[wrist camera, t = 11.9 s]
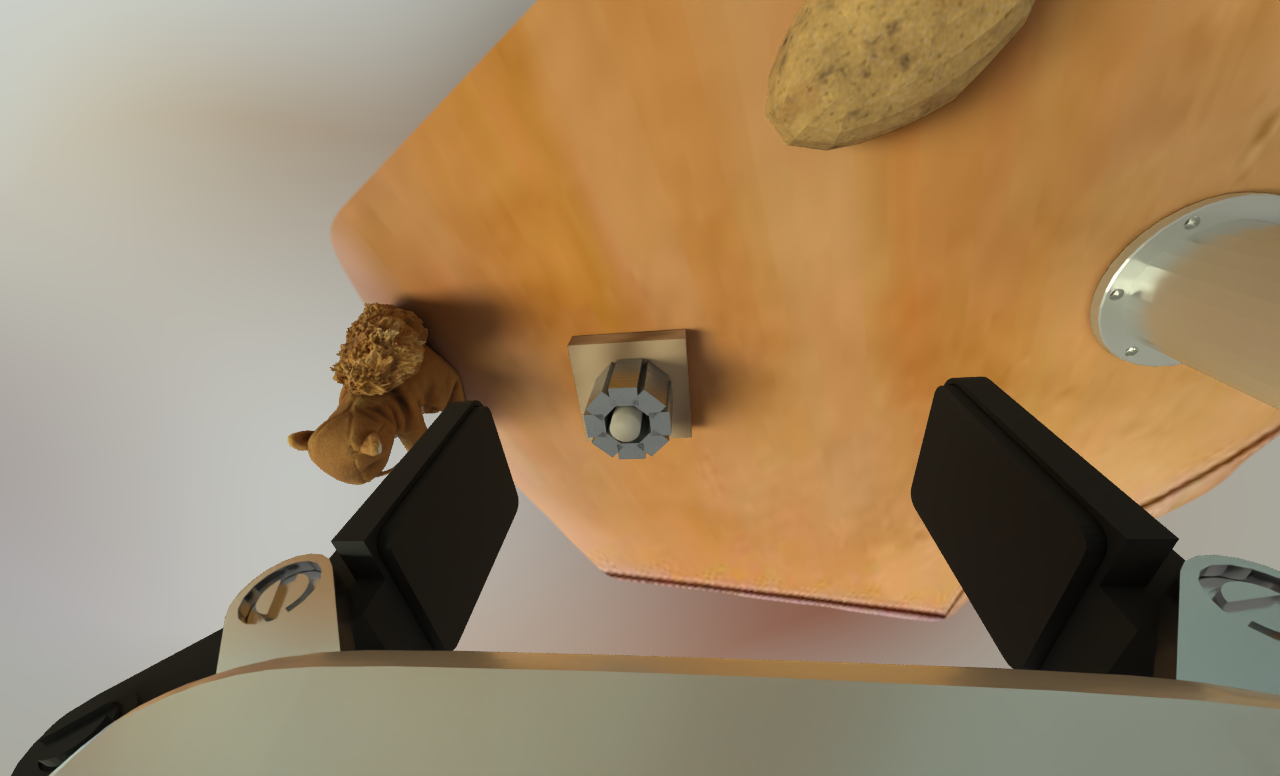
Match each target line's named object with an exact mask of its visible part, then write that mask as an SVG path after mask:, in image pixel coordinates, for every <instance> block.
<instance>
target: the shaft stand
mask: <svg viewBox="0 0 1280 776" xmlns="http://www.w3.org/2000/svg"><path fill="white" fill-rule="evenodd" d="M567 347H568V352H569V356H570V361H571V366H572V371H573V376H574V381H575V386H576V391H577V395H578V400H579V405H580V410H581V415H582V420H583V425H584V430H585V435H586V439H587V441H592V440H593V437H592V438H588V436H587V431H586V425H585V420H584V412H585V408H586V405H587V403H588V400H589V397H590V394H591V392H592V389H593V386H594V383H595V381H596V378H597V377H598V376H599V375H600V374H601V373H602V372H603V371H604V369H605V368H606V367H607V366H608V365H609V364H610V363H611V362H612V363H613V364H616V361H617V359H633V358H643V366H644V365H645V364H646V362H647V361H648V360H650V361H651V362H652V363H653V364H655V365H656V366H657V367H659V368H660V369H661V370H662V371H664V372H665V373H666V374H668V381H670V380H671V381H672V394H673V414H672V433H671V435H669V438H689V437H692V424H691V408H690V392H689V376H688V360H687V344H686V329H678V330H663V331H648V332H632V333H617V334H601V335H586V336H572V338H571V340H570V342H569V344H568V345H567ZM642 415H643V412H642V411H641V410H640V409H638V408H637V407H636V406H615V408H614V412H613V416H612V420H611V424H610V432H611V434H612V436H613V437H614V438H616V439H617V440H619V441H623V442H629V441H633V440H635V439H636V438H637V437H638V436H639V434H640V428H641V422H642Z"/></svg>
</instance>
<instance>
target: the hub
mask: <svg viewBox="0 0 1280 776" xmlns="http://www.w3.org/2000/svg"><path fill="white" fill-rule="evenodd" d="M615 406H636V407H637V408H638V409H640V410H641V411H642V412H643V415H642V422H641V428H640V434H639V436H638V437H637V438H636V439H635V440H633V441H629V442H623V441H619V440H617V439H616V438H614V437H613V436H612V434H611V432H610V424H611V420H612V416H613V412H614V408H615ZM672 414H673V394H672V381H671V380H670V381H668V374H666V373H665V372H664V371H662V370H661V369H660V368H659V367H657V366H656V365H655V364H653V363H652V362H651V361H650V360H648V361H647V362H646V364H645V365H644V366H643V358H633V359H617V361H616V364H613V363H612V362H611V363H610V364H609V365H608V366H607V367H606V368H605V369H604V371H603V372H602V373H601V374H600V375H599V376H598V377H597V378H596V381H595V383H594V386H593V389H592V392H591V394H590V397H589V400H588V403H587V405H586V408H585V412H584V420H585V425H586V431H587V436H588V438H592V437H593V440H592V443H593V444H594V445H595V446H597V447H598V448H600V449H601V450H603V451H604V452H606V453H607V454H609V455H610V456H611V457H614V456H615V455H616V454H617V453H618V455H619V459H645V458H646V453H647V454H649V455H650V456H653V455H654V454H655V453H656V452H657V451H658V450H659V449H660V448H661V447H663V446H664V445H665V444H666V443H667V442H668V441H669V435H671V433H672Z"/></svg>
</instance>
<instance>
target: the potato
mask: <svg viewBox="0 0 1280 776" xmlns="http://www.w3.org/2000/svg"><path fill="white" fill-rule="evenodd" d="M1034 2H1035V0H805V1H804V2H803V4H802V6H801V8H800V10H799V11H798V13H797V15H796V17H795V19H794V21H793V23H792V24H791V26H790V28H789V30H788V32H787V34H786V35H785V37H784V39H783V41H782V43H781V46H780V49H779V51H778V54H777V56H776V59H775V62H774V64H773V67H772V69H771V72H770V75H769V80H768V92H767V104H766V117H767V118H768V119H769V121H770V122H771V123H772V125H773V126H774V127H775V129H776V130H777V132H778V133H779V134H780V136H781V137H782V138H783V140H784V141H785V143H786V144H787V145H790V146H797V147H805V148H812V149H819V150H831V149H836V148H841V147H845V146H850V145H855V144H859V143H862V142H865V141H867V140H870V139H873V138H875V137H878V136H881V135H883V134H886V133H889V132H891V131H894V130H896V129H899V128H901V127H903V126H905V125H908V124H910V123H912V122H914V121H917V120H919V119H921V118H923V117H925V116H927V115H928V114H930V113H932V112H934V111H935V110H937V109H939V108H941V107H942V106H944V105H946V104H948V103H949V102H951V101H953V100H954V99H955V98H956V97H957V96H958V95H959V94H960V93H961V92H962V91H963V90H964V89H965V88H966V87H967V86H968V85H969V84H970V83H971V82H972V81H973V80H974V79H975V78H976V77H977V76H978V75H979V74H980V73H981V72H982V71H983V70H984V69H985V68H986V66H987V65H988V64H989V63H990V62H991V61H992V60H993V59H994V58H995V57H996V55H997V54H998V53H999V52H1000V51H1001V50H1002V49H1003V48H1004V46H1005V45H1006V44H1007V43H1008V42H1009V41H1010V40H1011V39H1012V37H1013V36H1014V35H1015V34H1016V33H1017V32H1018V31H1019V30H1020V29H1021V27H1022V26H1023V25H1024V24H1025V23H1026V20H1027V18H1028V16H1029V14H1030V11H1031V9H1032V7H1033V4H1034Z"/></svg>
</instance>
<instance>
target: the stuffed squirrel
mask: <svg viewBox="0 0 1280 776" xmlns="http://www.w3.org/2000/svg"><path fill="white" fill-rule="evenodd" d="M347 329H348V331H346V332H347V335H346V343H345V344H341V351H339V354H337V355H338V356H341V357H340V361H339V362H338V363H336V364H335V365H333V366H334V367H335V368H334V369H333V368H331V367H330V368H331V370H332V371H336V372H335V375H334V377H333V380H336V381H337V383H342V384H343V388H342V390H341V393H340V398H339V406H338V408H337V410H336V411H335V412H334V413H333V414H332V415H331V416H330V417H329V419H328V420H327V421H325V422H324V423H323V424H321V425H320V426H319V427H318V428H317V429H316V431H301V432H297V433H293V434H291V435H289V436H288V439H287V441H288V443H289V445H290V446H291V447H293V448H295V449H297V450H302V451H303V450H307V451H308V452H309V456H310V458H311V460H312V461H313V462H314V463H315V464H316V465H317V466H318V467H319V468H320V469H322V470H323V471H324V472H325V473H327V474H329V475H330V476H332V477H334V478H335V479H337V480H339V481H342V482H345V483H349V484H356V485H360V484H364V483H366V482H370V481H371V480H372V479H374V478H375V477H379V476H383V475H386V474H389V473H390V472H391V471H392V470H393V469H394V468H395V466H396V465H395V466H394V467H393V468H392V469H389V470H387V471H384V472H382V470H383V469H384V467H385V466H386V464H387V462H388V459H389V456H390V453H391V449H392V446H393V442H394V438H396V437H399V439H400V440H401V442H402V444H403V445H404V446H405V448H406V449H407V451H409V450H410V449H411V448H412V447H413V445H414V444H415V443H416V442H417V441H418V440H419V438H420V437H421V436H422V435H423V434H424V433H425V432H426V430H427V427H426V425H425V422H424V418H423V415H422V414H424V413H437V412H439V411H442V412H443V411H444V409H445V408H446V407H447V406H448V405H449V404H450V403H451V402H455V401H465V397H464V392H463V388H462V384H461V380H460V377H459V375H458V374H457V372H456V371H455V370H454V369H453V368H452V367H451V366H450V365H449V364H448V363H447V362H446V361H445V360H443V359H442V358H441V357H440V356H439V355H438V354H436V353H435V352H434V351H432V350H431V349H430V348H429V347H427V346H426V345H425V343H426V340H427V336H428V331H427V330H428V329H427V328H424V326H423V321H421V319H420V318H418V317H417V316H416V315H415V313H414V312H412V311H406V310H404V309H398V308H397V307H395V306H393V305H388V304H386V305H385V304H382V305H381V304H378V303H377V302H376V303H375V304H374V303H373V304H366V303H365V308H364V313H362V314H361V315H360V316H359V318H358V320H357V321H355V322H354V323H352V326H351V327H350V328H347Z"/></svg>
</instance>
